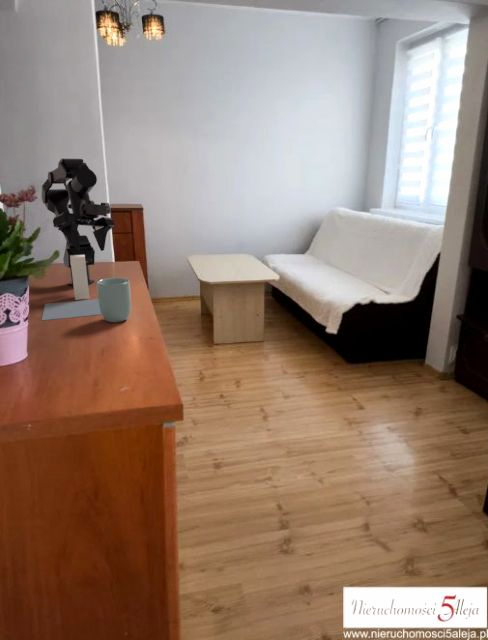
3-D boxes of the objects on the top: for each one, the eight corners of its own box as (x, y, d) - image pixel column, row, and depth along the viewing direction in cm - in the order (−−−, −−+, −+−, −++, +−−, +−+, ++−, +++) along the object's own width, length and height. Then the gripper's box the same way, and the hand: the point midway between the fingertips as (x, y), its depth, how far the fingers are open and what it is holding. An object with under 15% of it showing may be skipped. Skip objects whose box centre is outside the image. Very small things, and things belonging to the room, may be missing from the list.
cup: (102, 326, 110) (97, 286, 107) (99, 317, 117) (95, 279, 114) (134, 322, 113) (131, 283, 110) (129, 314, 120) (126, 276, 117)
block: (75, 296, 137) (70, 255, 133) (89, 295, 138) (84, 254, 134) (75, 299, 133) (70, 257, 130) (89, 298, 135) (84, 256, 131)
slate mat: (45, 304, 129) (45, 303, 129) (118, 298, 135) (118, 297, 135) (41, 321, 115) (41, 320, 115) (123, 313, 121) (123, 312, 121)
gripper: (71, 186, 126) (83, 241, 126) (121, 195, 142) (132, 244, 142) (46, 199, 132) (58, 252, 131) (97, 206, 148) (107, 253, 147)
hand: (90, 250), depth 138 cm, fingers open, 9 cm apart
